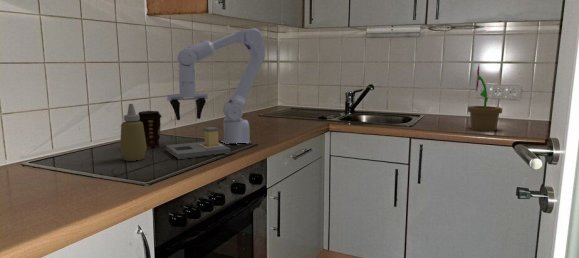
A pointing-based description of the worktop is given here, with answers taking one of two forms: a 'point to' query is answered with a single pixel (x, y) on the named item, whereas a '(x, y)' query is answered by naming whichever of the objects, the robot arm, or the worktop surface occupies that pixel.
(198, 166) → the worktop surface
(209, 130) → the plug
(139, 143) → the squeeze bottle
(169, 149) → the socket panel
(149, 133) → the coffee cup
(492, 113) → the flowerpot
